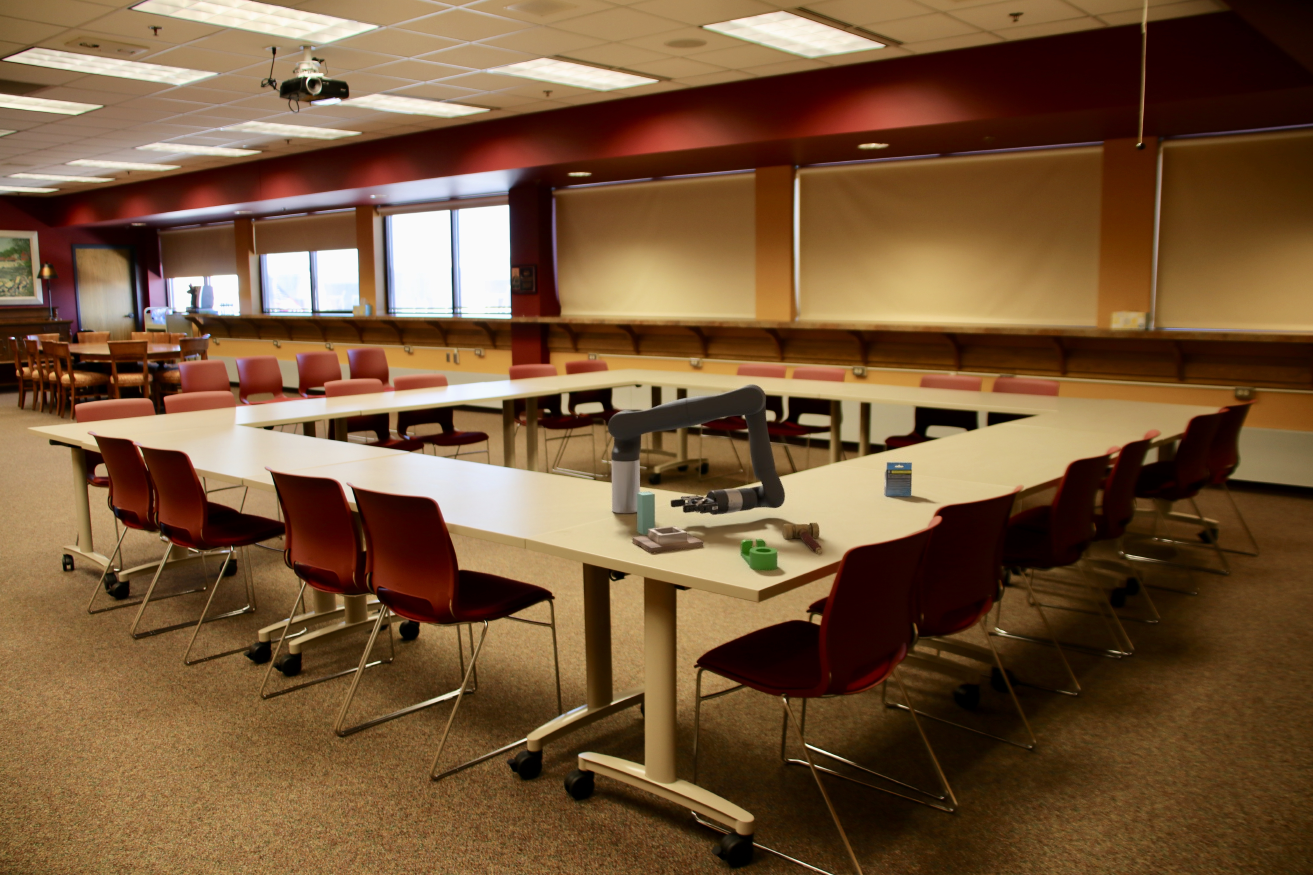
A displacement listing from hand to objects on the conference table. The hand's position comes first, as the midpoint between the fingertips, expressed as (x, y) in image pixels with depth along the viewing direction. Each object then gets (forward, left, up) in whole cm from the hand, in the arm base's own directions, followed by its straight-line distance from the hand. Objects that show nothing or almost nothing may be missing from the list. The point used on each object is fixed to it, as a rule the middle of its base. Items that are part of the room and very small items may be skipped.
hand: (677, 506), depth 272 cm
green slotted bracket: (+42, +4, -8) cm, 43 cm away
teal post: (0, -10, -7) cm, 12 cm away
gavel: (+33, +25, -8) cm, 42 cm away
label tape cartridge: (-10, +92, -7) cm, 93 cm away
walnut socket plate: (+15, -10, -7) cm, 20 cm away
